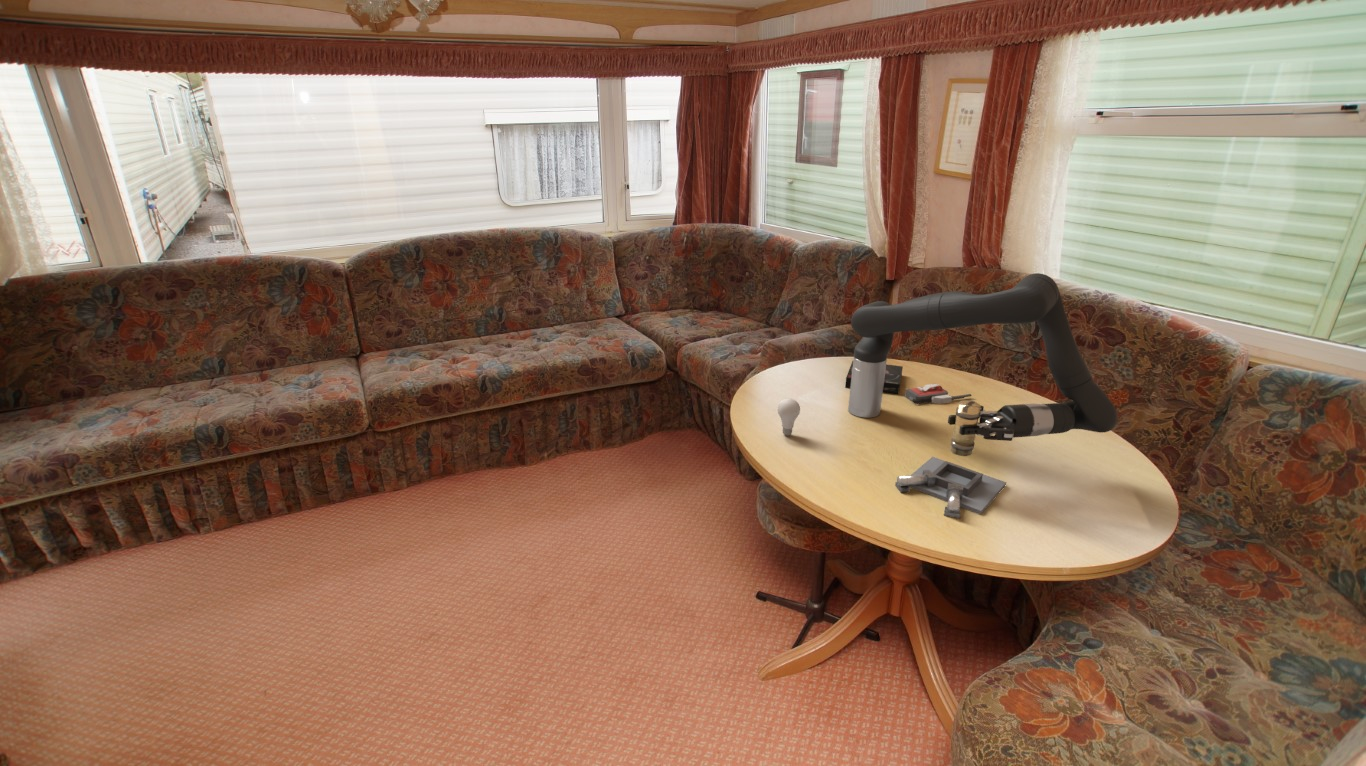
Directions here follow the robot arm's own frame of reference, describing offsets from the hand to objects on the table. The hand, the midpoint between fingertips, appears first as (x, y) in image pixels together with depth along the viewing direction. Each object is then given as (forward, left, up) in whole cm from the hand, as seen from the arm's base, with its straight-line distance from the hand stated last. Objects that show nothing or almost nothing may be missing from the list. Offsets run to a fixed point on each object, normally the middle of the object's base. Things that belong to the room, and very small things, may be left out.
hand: (954, 425), depth 143 cm
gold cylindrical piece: (-2, +2, -7) cm, 7 cm away
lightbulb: (+4, -42, -16) cm, 46 cm away
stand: (-2, +2, -16) cm, 16 cm away
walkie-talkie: (-48, -23, -17) cm, 56 cm away
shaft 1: (+6, -5, -16) cm, 18 cm away
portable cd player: (-47, -43, -17) cm, 66 cm away
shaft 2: (+7, +5, -16) cm, 19 cm away
